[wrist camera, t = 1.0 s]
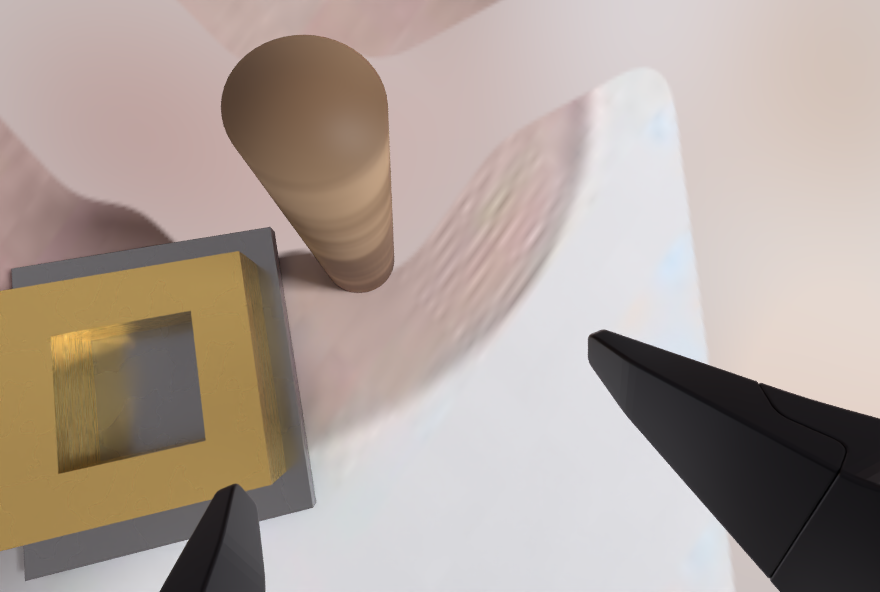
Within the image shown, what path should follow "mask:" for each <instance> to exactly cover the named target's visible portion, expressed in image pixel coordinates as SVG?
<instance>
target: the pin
mask: <svg viewBox="0 0 880 592" xmlns="http://www.w3.org/2000/svg"><path fill="white" fill-rule="evenodd" d="M221 113H222V120H223V124H224V127H225V130H226V133H227V135H228V137H229V139H230V140H231V142H232V144H233V145H234V147H235V148H236V149H237V151H238V152H239V154H240V155H241V156H242V158H243V159H244V160H245V162H246V163H247V164H248V166H249V167H250V169H251V170H252V171H253V173H254V174H255V175H256V177H257V178H258V180H259V181H260V182H261V184H262V185H263V186H264V188H265V189H266V190H267V192H268V193H269V195H270V196H271V197H272V199H273V200H274V201H275V203H276V204H277V206H278V207H279V208H280V210H281V211H282V212H283V214H284V215H285V216H286V218H287V219H288V221H289V222H290V223H291V225H292V226H293V227H294V229H295V230H296V231H297V233H298V234H299V236H300V237H301V238H302V240H303V241H304V242H305V244H306V245H307V247H308V248H309V249H310V251H311V252H312V253H313V255H314V256H315V258H316V259H317V260H318V262H319V263H320V264H321V266H322V267H323V268H324V270H325V271H326V273H327V274H328V275H329V277H330V278H331V279H332V281H333V282H334V283H335V284H336V285H338V286H339V287H341V288H342V289H344V290H347V291H350V292H355V293H363V292H368V291H372V290H374V289H376V288H378V287H380V286H381V285H382V284H383V283H384V282H385V281H386V280H387V279H388V278H389V276H390V274H391V272H392V270H393V266H394V245H393V244H394V242H393V218H392V194H391V170H390V148H389V147H390V146H389V123H388V103H387V95H386V92H385V89H384V85H383V83H382V81H381V79H380V77H379V75H378V74H377V72H376V70H375V69H374V68H373V67H372V65H371V64H370V63H369V62H368V61H367V60H366V59H365V58H364V57H363V56H362V55H361V54H359V53H358V52H356V51H355V50H354V49H352V48H350V47H349V46H347V45H345V44H343V43H340V42H338V41H336V40H332V39H329V38H326V37H320V36H314V35H293V36H287V37H282V38H278V39H275V40H272V41H269V42H267V43H264V44H262V45H261V46H259V47H257V48H255V49H254V50H252V51H251V52H250V53H248V54H247V55H246V56H245V57H244V58H243V59H242V60H240V61H239V63H238V64H237V65H236V66H235V68H234V69H233V70H232V72H231V74H230V76H229V77H228V79H227V82H226V84H225V86H224V90H223V94H222V101H221Z"/></svg>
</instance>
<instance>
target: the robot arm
mask: <svg viewBox="0 0 880 592" xmlns="http://www.w3.org/2000/svg"><path fill="white" fill-rule="evenodd" d="M588 360H589V363H590V365H591V366H592V368H593V369H594V371H595V372H596V374H597V375H598V377H599V378H600V379H601V381H602V382H603V384H604V385H605V386H606V388H607V389H608V391H609V392H610V394H611V395H612V396H613V398H614V399H615V401H616V402H617V404H618V405H619V406H620V408H621V409H622V410H623V412H624V413H625V414H626V415H627V417H628V418H629V419H630V420H631V421H632V423H633V424H634V425H635V426H636V427H637V428H638V429H639V431H640V432H641V433H642V434H643V435H644V436H645V437H646V439H647V440H648V441H649V442H650V443H651V444H652V446H653V447H654V448H655V449H656V450H657V451H658V452H659V454H660V455H661V456H662V457H663V458H664V459H665V460H666V462H667V463H668V464H669V465H670V466H671V467H672V468H673V470H674V471H675V472H676V473H677V474H678V475H679V476H680V478H681V479H682V480H683V481H684V482H685V483H686V484H687V486H688V487H689V488H690V489H691V490H692V491H693V492H694V494H695V495H696V496H697V497H698V498H699V499H700V500H701V502H702V503H703V504H704V505H705V506H706V507H707V508H708V510H709V511H710V512H711V513H712V514H713V515H714V516H715V518H716V519H717V520H718V521H719V522H720V523H721V524H722V526H723V527H724V528H725V529H726V530H727V531H728V532H729V534H730V535H731V536H732V537H733V538H734V539H735V540H736V542H737V543H738V544H739V545H740V546H741V547H742V548H743V550H744V551H745V552H746V553H747V554H748V555H749V556H750V558H751V559H752V560H753V561H754V562H755V563H756V565H757V566H758V567H759V568H760V569H761V570H762V571H763V572H764V574H765V575H766V576H767V577H768V578H770V581H771V582H772V583H773V584H774V585H775V587H776V588H777V589H778V590H779V591H780V592H880V419H879V418H875V417H872V416H868V415H864V414H861V413H857V412H854V411H850V410H846V409H843V408H839V407H836V406H832V405H829V404H826V403H822V402H818V401H815V400H811V399H808V398H805V397H802V396H799V395H796V394H793V393H790V392H787V391H783V390H781V389H777V388H775V387H772V386H769V385H766V384H763V383H759V384H758V382H757V381H754V380H751V379H748V378H745V377H742V376H739V375H736V374H733V373H731V372H728V371H725V370H722V369H719V368H716V367H713V366H710V365H707V364H704V363H701V362H698V361H695V360H693V359H690V358H687V357H684V356H681V355H678V354H675V353H672V352H669V351H666V350H663V349H660V348H657V347H655V346H652V345H649V344H646V343H643V342H640V341H637V340H634V339H631V338H628V337H625V336H622V335H619V334H617V333H614V332H611V331H608V330H600V331H597V332H595V333H592V334H590V335H589V337H588ZM160 592H265V572H264V563H263V554H262V545H261V536H260V527H259V519H258V510H257V506H256V504H255V502H254V500H253V499H252V498H251V497H250V496H249V495H248V494H247V492H246V491H245V490H244V489H243V488H242V487H241V486H240V485H239V484H236V483H235V484H232V485H229V486H227V487H225V488H222V489H220V490H218V491H217V492H216V494H215V495H214V497H213V498H212V500H211V502H210V504H209V505H208V507H207V509H206V511H205V512H204V514H203V516H202V518H201V519H200V521H199V523H198V525H197V527H196V528H195V530H194V532H193V534H192V535H191V537H190V539H189V541H188V542H187V544H186V546H185V548H184V549H183V551H182V553H181V555H180V556H179V558H178V560H177V562H176V563H175V565H174V567H173V569H172V570H171V572H170V574H169V576H168V577H167V579H166V581H165V583H164V585H163V586H162V588H161V590H160Z"/></svg>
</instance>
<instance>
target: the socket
mask: <svg viewBox="0 0 880 592" xmlns="http://www.w3.org/2000/svg"><path fill="white" fill-rule="evenodd" d="M235 483H236V484H239V485H240V486H241V487H242V488H243V489H244V490H245V491H246V492H247V494H248V495H249V496H250V497H251V498H252V499H253V500H254V502H255V504H256V506H257V510H258V519H259V521H262V520H266V519H270V518H274V517H278V516H282V515H286V514H290V513H294V512H298V511H301V510H305V509H309V508H313V507H314V505H315V504H316V498H315V492H314V485H313V479H312V472H311V466H310V459H309V453H308V446H307V440H306V433H305V427H304V420H303V414H302V407H301V401H300V394H299V388H298V381H297V375H296V368H295V362H294V355H293V349H292V342H291V336H290V329H289V323H288V316H287V310H286V303H285V297H284V290H283V284H282V277H281V271H280V264H279V258H278V251H277V245H276V239H275V232H274V231H273V230H272V228H270V227H268V228H261V229H255V230H249V231H243V232H236V233H230V234H225V235H218V236H212V237H206V238H199V239H193V240H187V241H181V242H174V243H168V244H162V245H156V246H150V247H144V248H137V249H131V250H125V251H119V252H113V253H106V254H100V255H94V256H88V257H82V258H75V259H69V260H63V261H57V262H51V263H45V264H38V265H32V266H26V267H20V268H14V269H12V289H9V290H3V291H0V551H3V550H7V549H11V548H15V547H19V546H23V545H24V564H25V581H27V580H31V579H35V578H39V577H43V576H47V575H51V574H55V573H59V572H62V571H66V570H70V569H74V568H78V567H82V566H86V565H90V564H94V563H98V562H102V561H106V560H109V559H113V558H117V557H121V556H125V555H129V554H133V553H137V552H141V551H145V550H149V549H153V548H157V547H160V546H164V545H168V544H172V543H176V542H180V541H184V540H188V539H190V537H191V535H192V534H193V532H194V530H195V528H196V527H197V525H198V523H199V521H200V519H201V518H202V516H203V514H204V512H205V511H206V509H207V507H208V505H209V504H210V502H211V500H212V498H213V497H214V495H215V494H216V492H217V491H218V490H220V489H222V488H225V487H227V486H229V485H232V484H235Z"/></svg>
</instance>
